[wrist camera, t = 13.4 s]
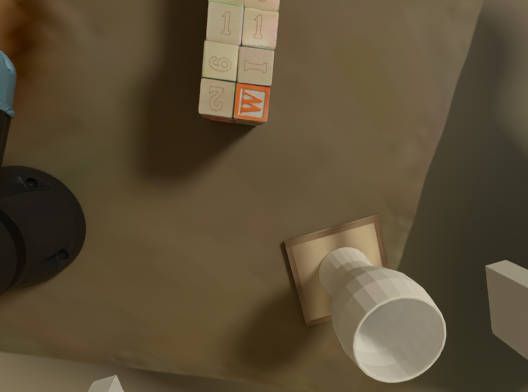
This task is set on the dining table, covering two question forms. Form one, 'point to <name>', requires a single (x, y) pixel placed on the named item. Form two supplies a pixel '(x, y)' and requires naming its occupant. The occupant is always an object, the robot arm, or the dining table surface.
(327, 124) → the dining table surface
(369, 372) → the cup
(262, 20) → the stack of blocks
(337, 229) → the picture frame
